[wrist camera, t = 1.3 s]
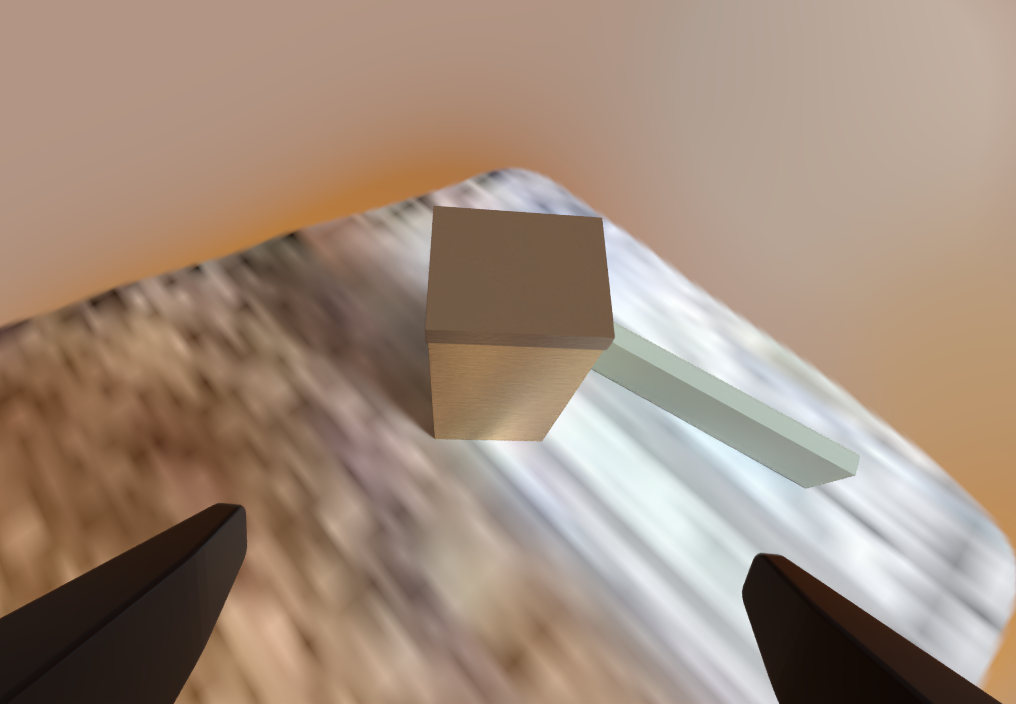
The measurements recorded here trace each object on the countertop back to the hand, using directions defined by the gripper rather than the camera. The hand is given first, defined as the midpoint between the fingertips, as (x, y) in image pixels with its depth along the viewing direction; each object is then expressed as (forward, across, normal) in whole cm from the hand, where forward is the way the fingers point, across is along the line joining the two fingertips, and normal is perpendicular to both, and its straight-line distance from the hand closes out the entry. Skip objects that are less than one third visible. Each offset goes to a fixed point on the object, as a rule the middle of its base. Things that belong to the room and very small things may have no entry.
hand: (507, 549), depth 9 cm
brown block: (+15, 0, +4) cm, 15 cm away
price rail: (+16, -8, +3) cm, 18 cm away
